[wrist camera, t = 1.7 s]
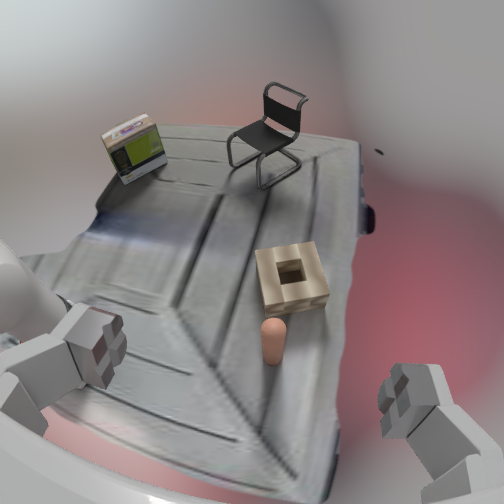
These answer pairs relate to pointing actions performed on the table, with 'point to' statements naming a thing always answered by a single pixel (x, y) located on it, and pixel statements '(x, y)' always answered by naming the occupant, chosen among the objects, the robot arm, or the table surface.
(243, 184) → the table surface
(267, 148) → the chair
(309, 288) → the socket block
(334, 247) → the table surface
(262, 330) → the dowel
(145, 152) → the tea box
